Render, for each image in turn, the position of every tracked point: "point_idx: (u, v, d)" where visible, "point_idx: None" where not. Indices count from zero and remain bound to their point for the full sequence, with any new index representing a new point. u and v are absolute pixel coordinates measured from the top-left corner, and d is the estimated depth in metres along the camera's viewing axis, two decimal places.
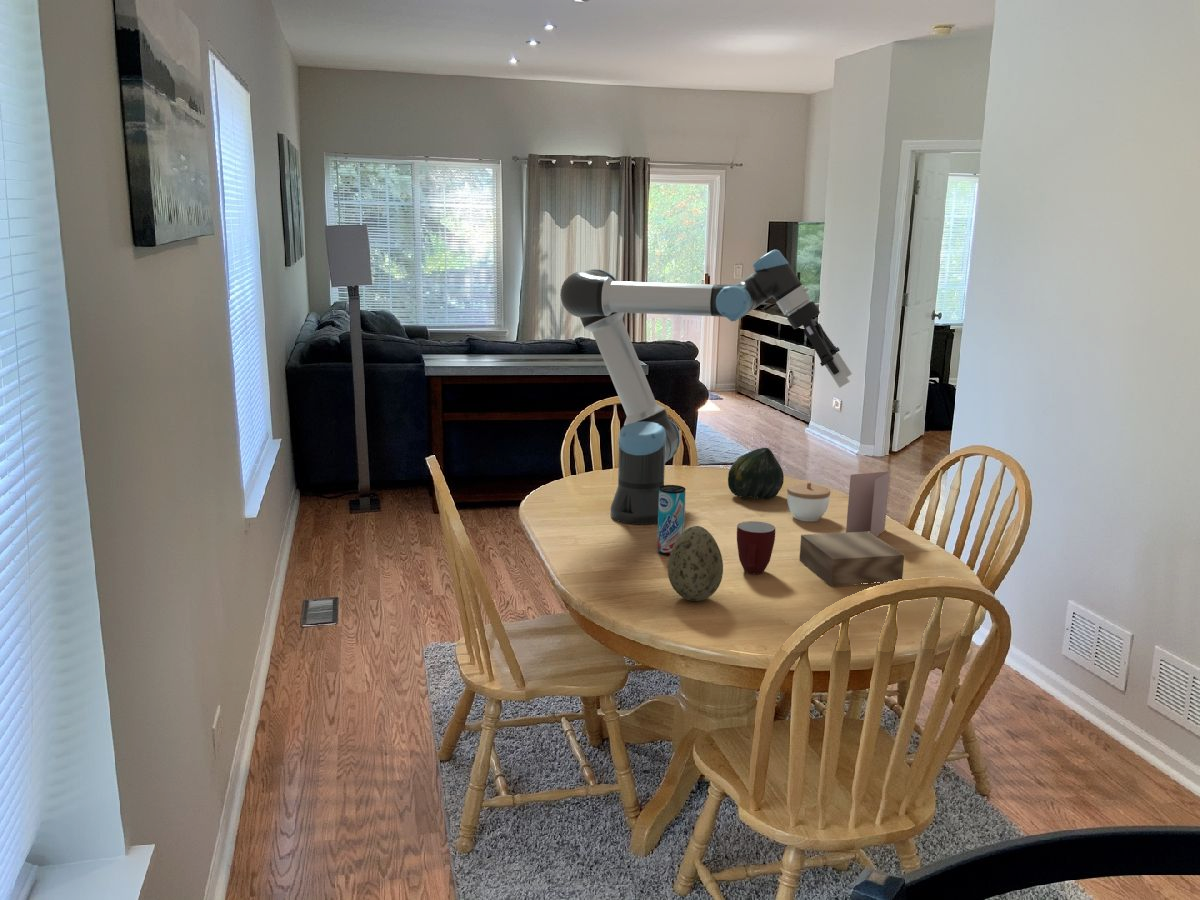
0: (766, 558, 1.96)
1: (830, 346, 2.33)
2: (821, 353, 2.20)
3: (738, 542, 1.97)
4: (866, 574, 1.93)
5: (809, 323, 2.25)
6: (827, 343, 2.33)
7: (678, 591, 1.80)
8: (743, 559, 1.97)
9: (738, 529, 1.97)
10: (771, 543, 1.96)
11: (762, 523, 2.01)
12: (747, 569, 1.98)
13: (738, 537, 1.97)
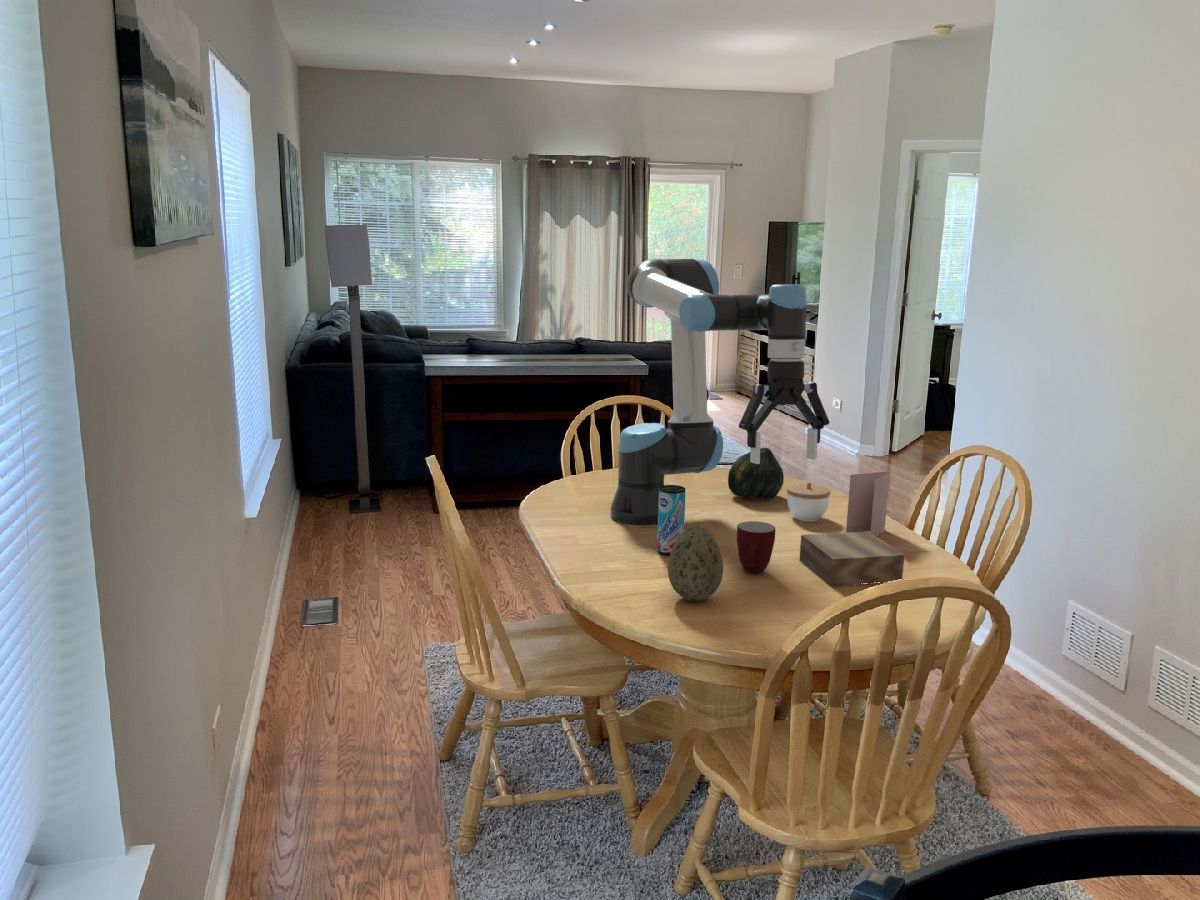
0: (766, 558, 1.96)
1: (809, 418, 1.96)
2: (744, 418, 1.92)
3: (738, 542, 1.97)
4: (866, 574, 1.93)
5: (771, 382, 1.92)
6: (805, 413, 1.95)
7: (678, 591, 1.80)
8: (743, 559, 1.97)
9: (738, 529, 1.97)
10: (771, 543, 1.96)
11: (762, 523, 2.01)
12: (747, 569, 1.98)
13: (738, 537, 1.97)
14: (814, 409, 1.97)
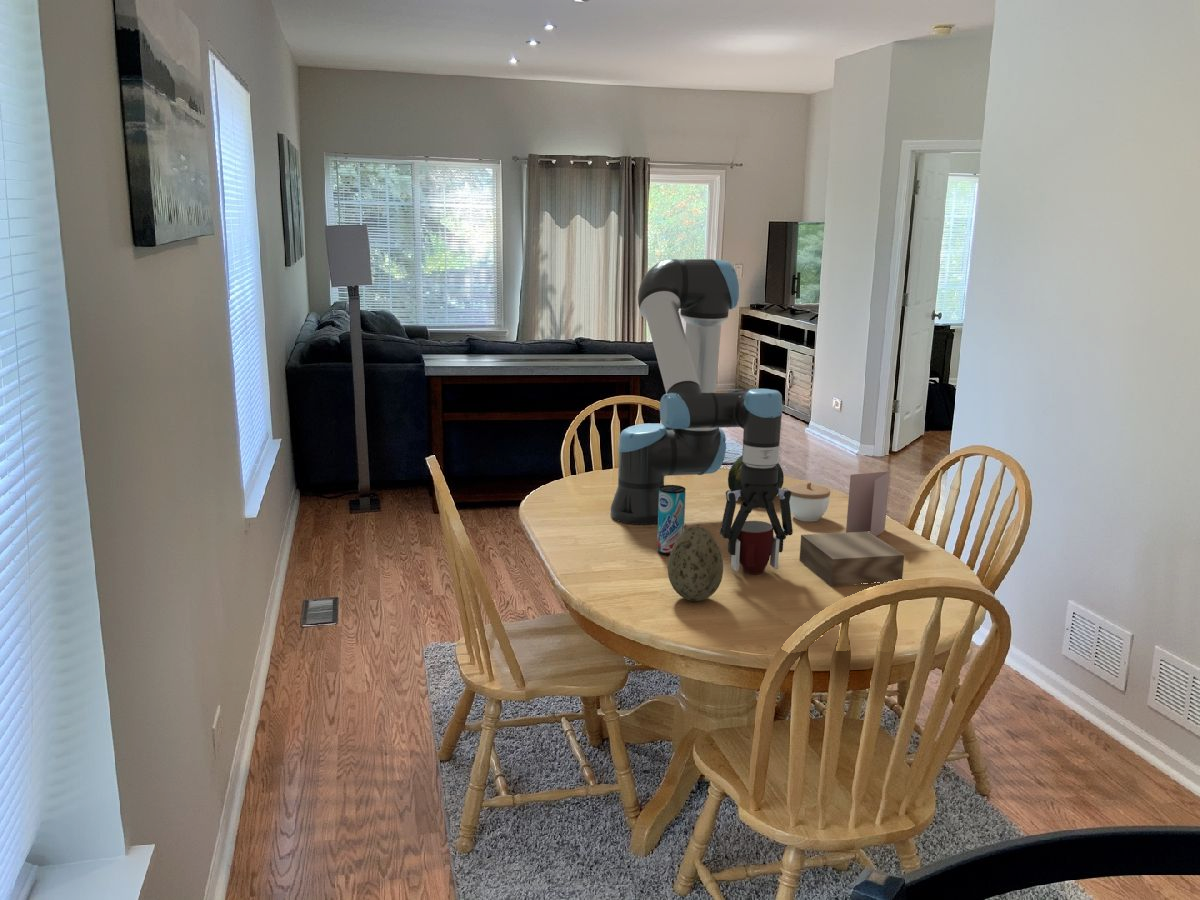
0: (765, 558, 1.96)
1: (774, 525, 1.96)
2: (722, 526, 1.95)
3: None
4: (866, 574, 1.93)
5: (742, 486, 1.93)
6: (772, 519, 1.96)
7: (678, 591, 1.80)
8: (742, 559, 1.97)
9: None
10: (769, 542, 1.95)
11: (760, 522, 2.01)
12: (747, 569, 1.98)
13: None
14: (782, 516, 1.98)
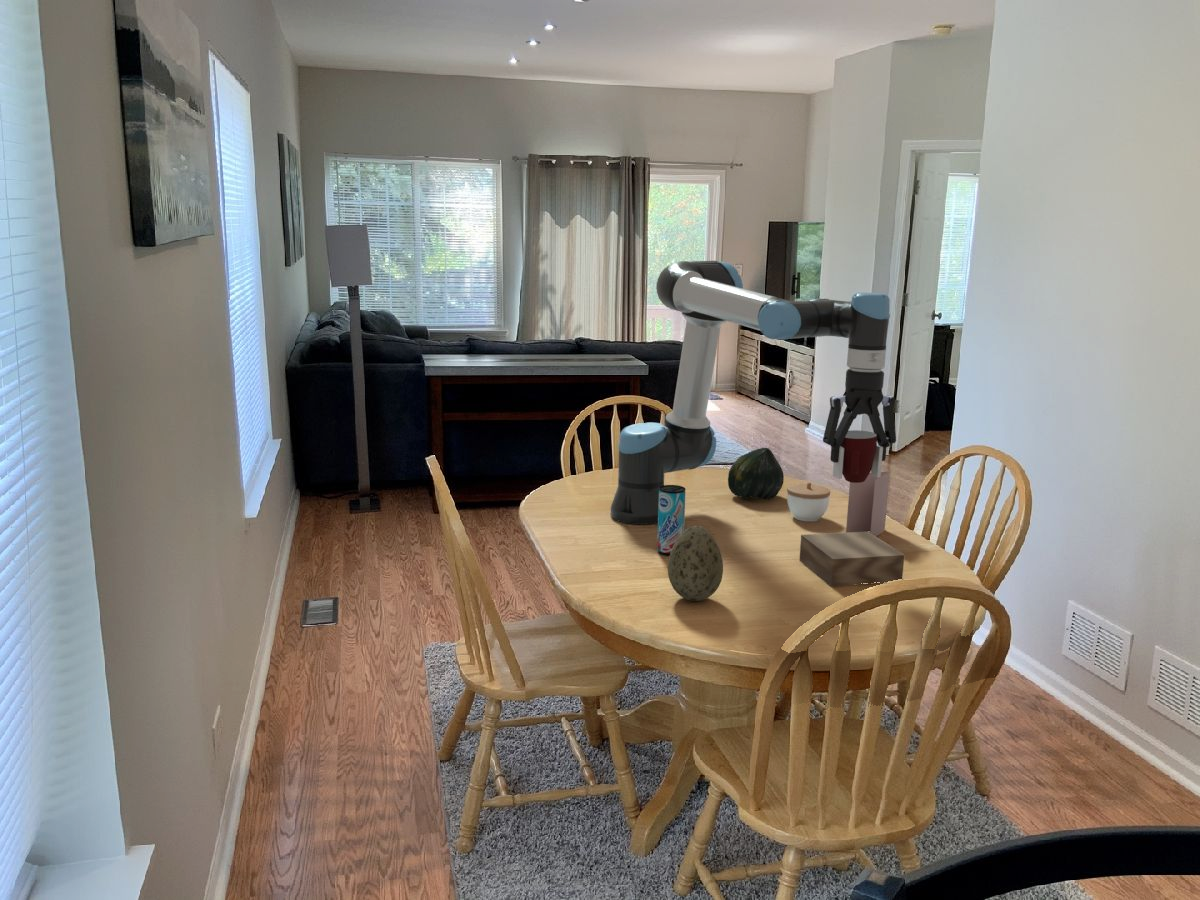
0: (869, 466, 1.94)
1: (878, 433, 1.94)
2: (826, 433, 1.93)
3: None
4: (866, 574, 1.93)
5: (848, 391, 1.91)
6: (875, 427, 1.94)
7: (678, 591, 1.80)
8: (845, 467, 1.95)
9: None
10: (874, 449, 1.93)
11: (861, 432, 1.99)
12: (849, 478, 1.95)
13: None
14: (885, 424, 1.95)
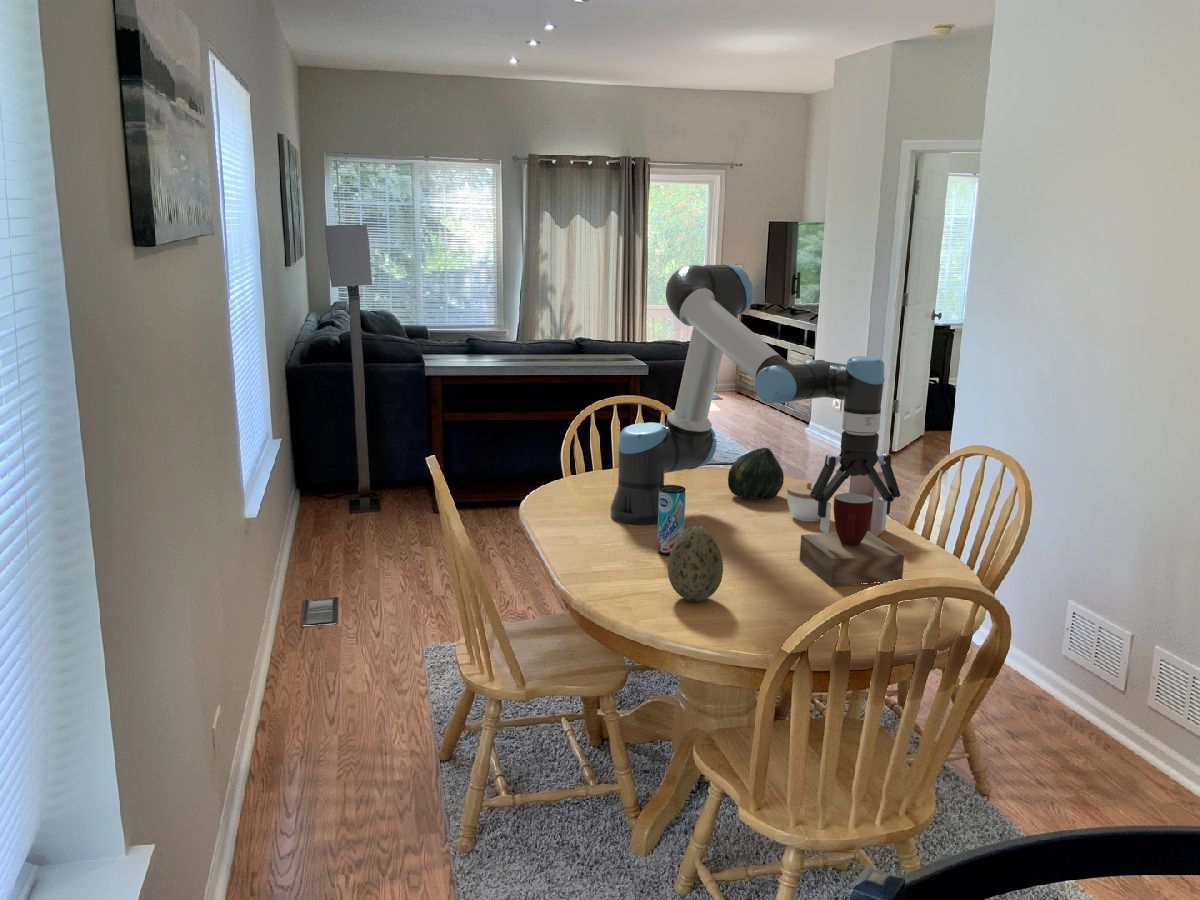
0: (864, 529, 1.97)
1: (880, 489, 1.97)
2: (815, 488, 1.95)
3: (836, 513, 1.98)
4: (866, 574, 1.93)
5: (843, 453, 1.94)
6: (876, 484, 1.97)
7: (678, 591, 1.80)
8: (841, 530, 1.98)
9: (836, 500, 1.98)
10: (869, 514, 1.97)
11: (858, 495, 2.02)
12: (844, 540, 1.99)
13: (836, 508, 1.98)
14: (886, 480, 1.98)
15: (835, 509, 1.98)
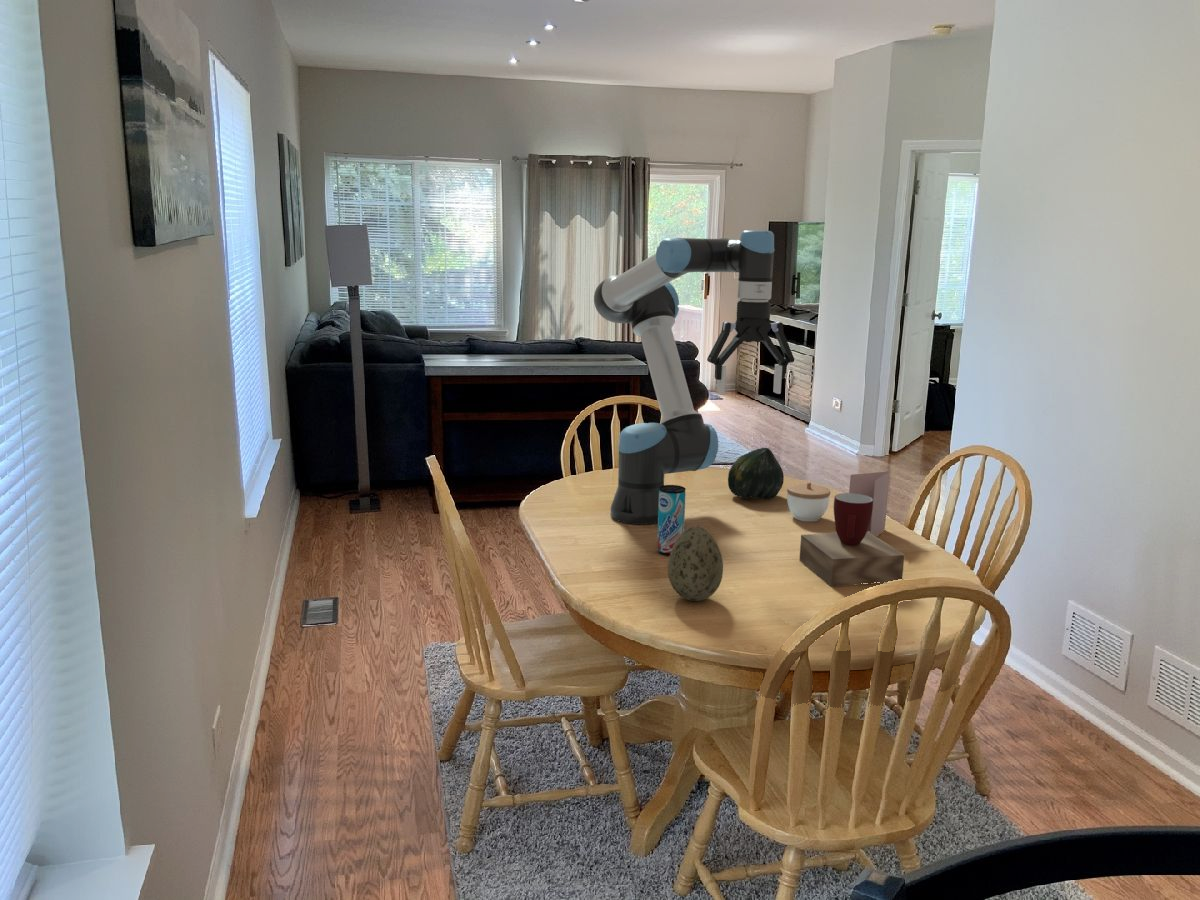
0: (864, 529, 1.97)
1: (775, 355, 2.13)
2: (711, 352, 2.11)
3: (836, 513, 1.98)
4: (866, 574, 1.93)
5: (738, 320, 2.10)
6: (771, 350, 2.13)
7: (678, 591, 1.80)
8: (841, 530, 1.98)
9: (836, 500, 1.98)
10: (869, 514, 1.97)
11: (858, 495, 2.02)
12: (844, 540, 1.99)
13: (836, 508, 1.98)
14: (781, 347, 2.15)
15: (835, 509, 1.98)
